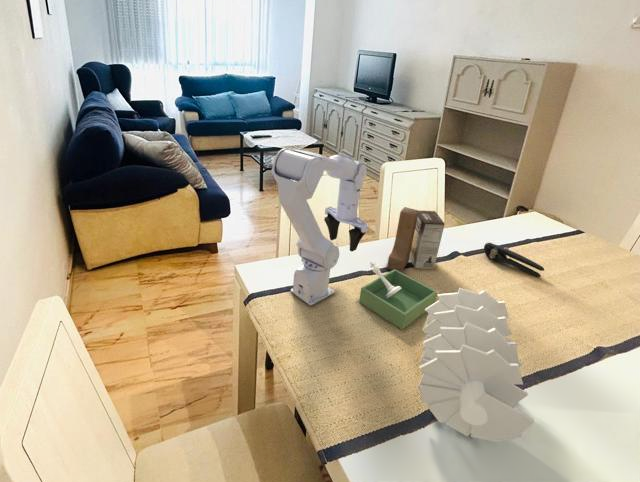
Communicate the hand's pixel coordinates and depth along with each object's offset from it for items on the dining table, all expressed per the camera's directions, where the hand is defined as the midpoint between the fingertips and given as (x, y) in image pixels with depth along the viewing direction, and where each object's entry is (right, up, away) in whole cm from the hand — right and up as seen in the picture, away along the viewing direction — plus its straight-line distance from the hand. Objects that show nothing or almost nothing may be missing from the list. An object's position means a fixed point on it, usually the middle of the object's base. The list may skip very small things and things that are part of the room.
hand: (342, 244), depth 111 cm
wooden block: (+19, -8, +9) cm, 22 cm away
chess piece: (+12, -12, -9) cm, 20 cm away
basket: (+13, -15, -9) cm, 21 cm away
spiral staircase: (+18, -25, -34) cm, 46 cm away
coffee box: (+27, -7, +12) cm, 30 cm away
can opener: (+56, -9, +12) cm, 58 cm away
